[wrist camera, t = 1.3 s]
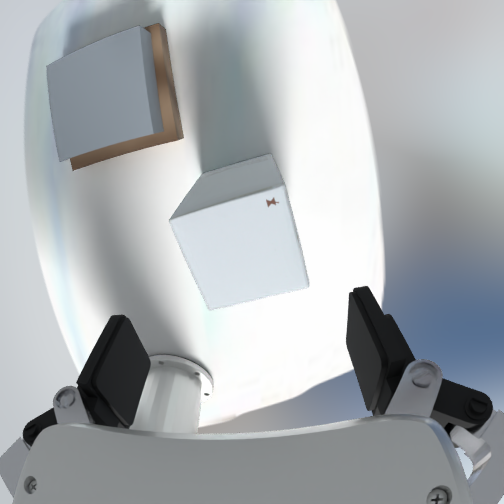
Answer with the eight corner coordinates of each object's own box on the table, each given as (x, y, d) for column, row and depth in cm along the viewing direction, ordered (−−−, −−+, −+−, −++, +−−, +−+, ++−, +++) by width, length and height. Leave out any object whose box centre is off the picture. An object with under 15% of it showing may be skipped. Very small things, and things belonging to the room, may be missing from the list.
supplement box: (199, 172, 28) (164, 216, 16) (272, 151, 27) (288, 180, 15) (222, 238, 31) (206, 313, 20) (290, 220, 30) (313, 289, 19)
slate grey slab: (164, 131, 23) (153, 133, 21) (75, 156, 24) (59, 162, 21) (151, 33, 19) (139, 25, 16) (63, 67, 19) (46, 66, 17)
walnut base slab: (185, 137, 26) (177, 140, 24) (86, 164, 27) (72, 170, 25) (167, 30, 21) (158, 23, 18) (69, 69, 22) (54, 67, 19)
